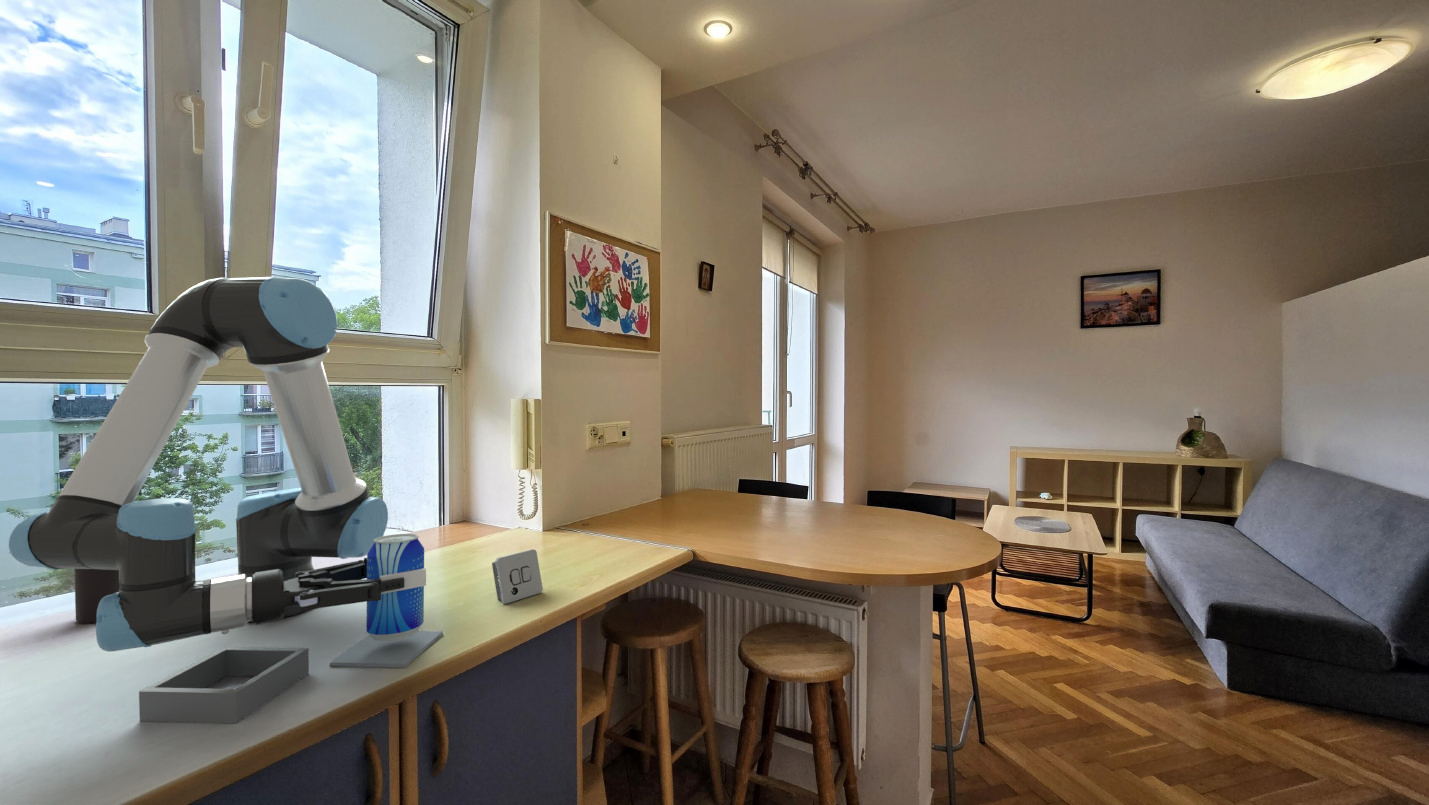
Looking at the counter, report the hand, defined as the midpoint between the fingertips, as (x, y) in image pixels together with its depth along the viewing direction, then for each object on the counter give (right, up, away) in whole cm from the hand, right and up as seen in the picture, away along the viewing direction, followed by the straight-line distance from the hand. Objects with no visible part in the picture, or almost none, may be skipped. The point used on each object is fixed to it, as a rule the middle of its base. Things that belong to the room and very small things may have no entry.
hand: (419, 570), depth 99 cm
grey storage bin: (-18, -13, -17) cm, 28 cm away
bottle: (-65, -12, +10) cm, 67 cm away
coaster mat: (-4, -13, -2) cm, 13 cm away
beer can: (-3, -10, -2) cm, 11 cm away
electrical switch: (+9, -12, +22) cm, 27 cm away
